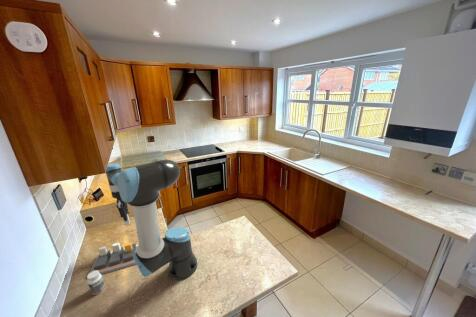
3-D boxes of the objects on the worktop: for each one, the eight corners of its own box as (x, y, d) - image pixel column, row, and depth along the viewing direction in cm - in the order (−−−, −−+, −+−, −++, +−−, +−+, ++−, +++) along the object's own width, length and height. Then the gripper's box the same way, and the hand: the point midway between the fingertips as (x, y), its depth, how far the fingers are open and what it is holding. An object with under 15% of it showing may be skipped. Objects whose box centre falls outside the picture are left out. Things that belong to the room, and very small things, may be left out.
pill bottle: (90, 290, 94) (84, 274, 91) (104, 282, 98) (98, 267, 95) (92, 297, 90) (86, 281, 87) (106, 289, 94) (101, 273, 91)
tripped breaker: (132, 251, 112) (130, 244, 111) (125, 252, 111) (124, 246, 110) (132, 248, 114) (131, 242, 113) (126, 249, 113) (125, 243, 112)
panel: (138, 263, 108) (135, 251, 106) (88, 278, 101) (83, 265, 98) (141, 245, 123) (139, 234, 120) (98, 256, 115) (94, 245, 113)
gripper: (123, 193, 106) (132, 228, 113) (127, 184, 118) (135, 217, 125) (107, 195, 104) (118, 232, 111) (113, 186, 116) (122, 220, 122)
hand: (127, 224), depth 118 cm, fingers closed
